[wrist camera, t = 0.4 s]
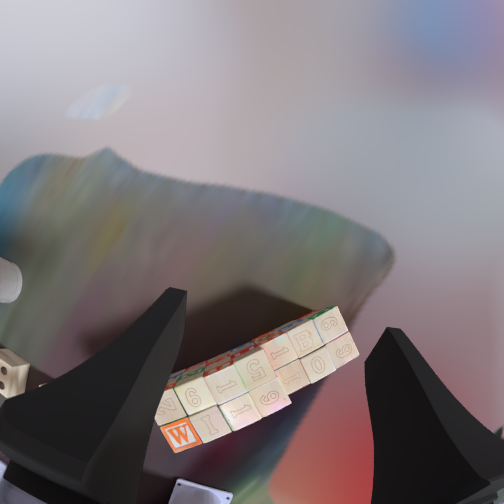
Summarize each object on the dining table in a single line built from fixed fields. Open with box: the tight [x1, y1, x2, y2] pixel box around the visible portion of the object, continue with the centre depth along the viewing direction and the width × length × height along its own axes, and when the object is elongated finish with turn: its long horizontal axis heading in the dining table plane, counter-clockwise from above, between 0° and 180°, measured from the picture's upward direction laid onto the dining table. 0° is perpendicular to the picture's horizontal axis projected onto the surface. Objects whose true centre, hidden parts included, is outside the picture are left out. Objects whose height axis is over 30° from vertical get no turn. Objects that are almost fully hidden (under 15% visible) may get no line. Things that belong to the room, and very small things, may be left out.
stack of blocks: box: [155, 306, 359, 453], centre depth 33 cm, size 21×6×12 cm, turn 115°
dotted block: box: [0, 349, 30, 398], centre depth 32 cm, size 5×5×5 cm
